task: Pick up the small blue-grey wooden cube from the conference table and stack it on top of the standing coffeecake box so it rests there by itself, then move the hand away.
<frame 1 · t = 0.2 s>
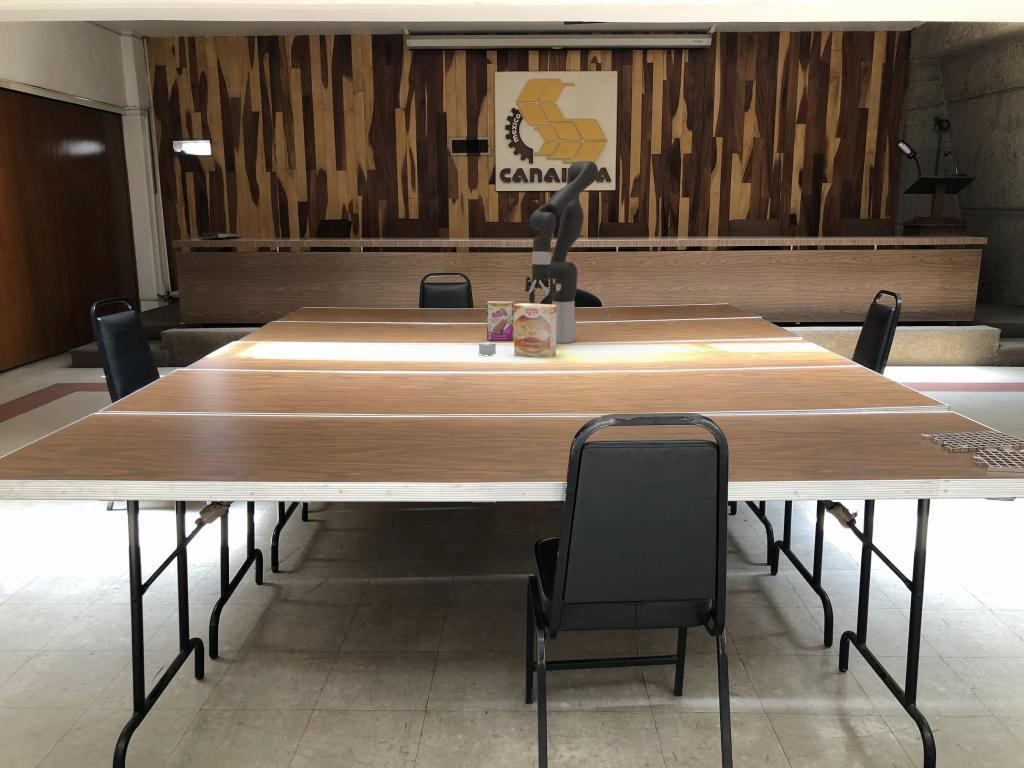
hand: (540, 303, 342), 17 cm above the table, tool pointing down, fingers open, 8 cm apart
candy bar box: (500, 340, 361), on the table
blue-grey cube: (487, 354, 328), on the table
coffeecake box: (535, 355, 327), on the table
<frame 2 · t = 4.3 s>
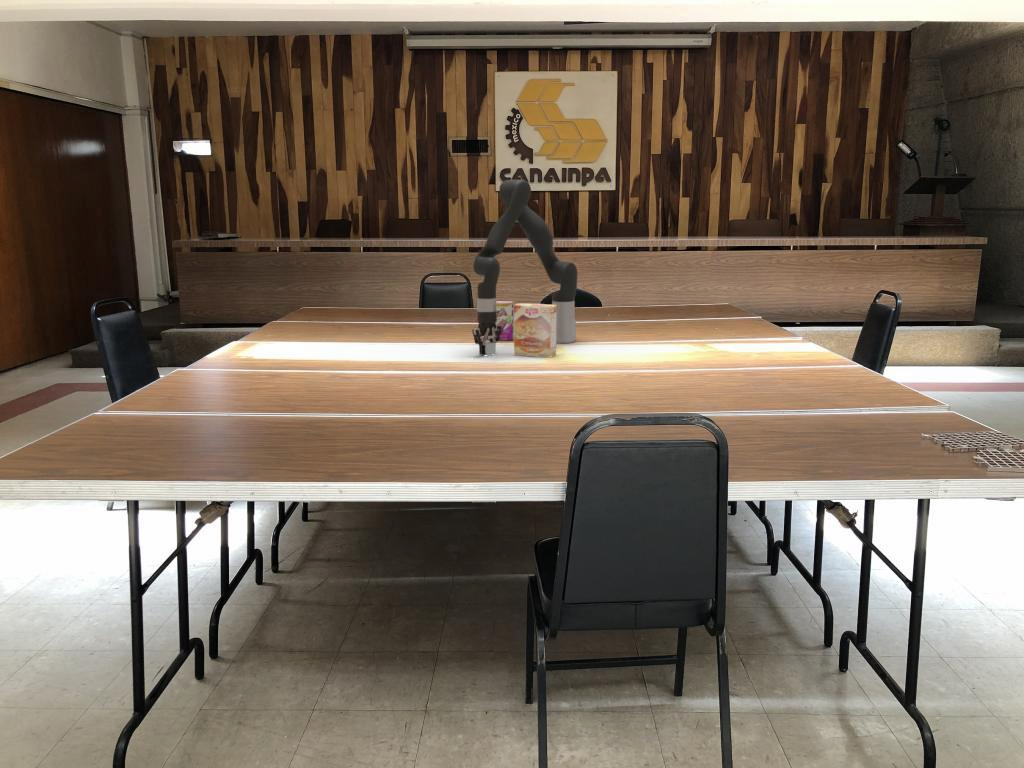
hand: (487, 353, 328), 0 cm above the table, tool pointing down, fingers closed on blue-grey cube, 4 cm apart
blue-grey cube: (487, 354, 328), on the table, touching gripper
everything else where it was.
when the fingers open (22 cm above the table, at t = 11.0 s): blue-grey cube drops 2 cm, resting on coffeecake box.
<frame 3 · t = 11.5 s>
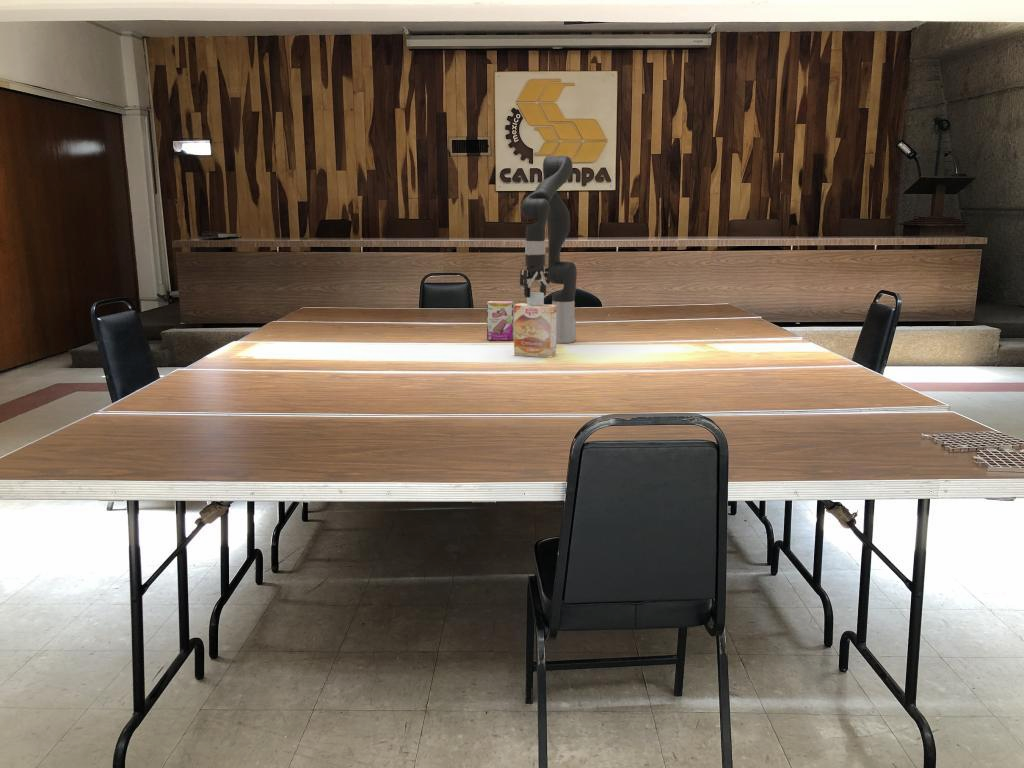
hand: (535, 296, 322), 23 cm above the table, tool pointing down, fingers open, 8 cm apart
blue-grey cube: (535, 304, 323), point 19 cm above the table, touching coffeecake box
coffeecake box: (535, 355, 327), on the table, touching blue-grey cube
everything else where it was.
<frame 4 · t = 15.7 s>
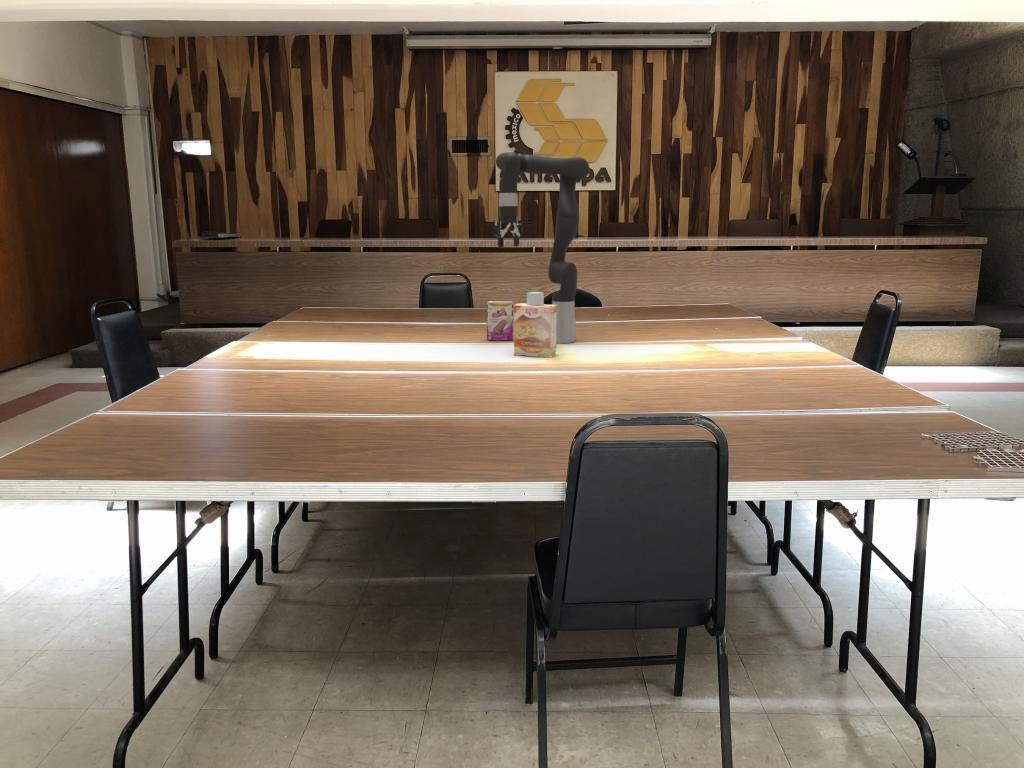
hand: (508, 246, 336), 40 cm above the table, tool pointing down, fingers open, 8 cm apart
nothing on the table moved.
at the end: blue-grey cube inside the target area on the coffeecake box (0.1 cm from its centre), point 19.7 cm above the coffeecake box's base; blue-grey cube tilted 0°; the gripper is holding nothing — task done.
